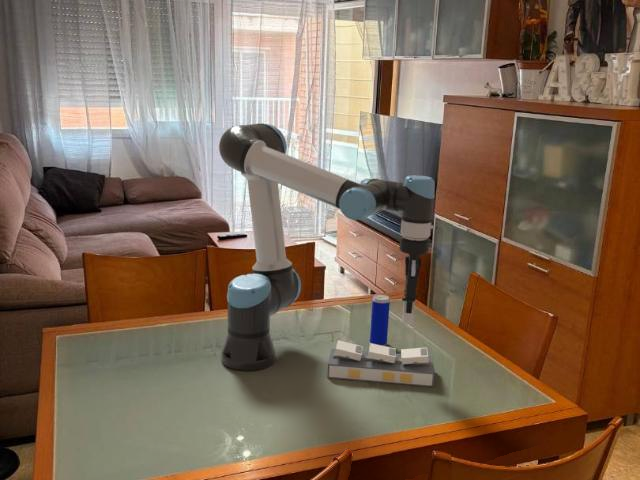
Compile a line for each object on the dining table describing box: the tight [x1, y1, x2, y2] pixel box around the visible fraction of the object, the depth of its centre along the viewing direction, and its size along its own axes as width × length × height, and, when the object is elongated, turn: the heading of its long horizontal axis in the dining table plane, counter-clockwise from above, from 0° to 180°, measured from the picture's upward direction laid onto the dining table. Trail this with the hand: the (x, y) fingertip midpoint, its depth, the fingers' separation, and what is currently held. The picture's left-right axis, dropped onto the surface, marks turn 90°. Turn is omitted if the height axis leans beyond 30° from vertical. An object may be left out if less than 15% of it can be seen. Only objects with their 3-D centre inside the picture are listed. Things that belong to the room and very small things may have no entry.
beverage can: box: [369, 294, 391, 346], centre depth 185 cm, size 5×5×15 cm
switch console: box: [326, 348, 436, 388], centre depth 167 cm, size 28×10×5 cm, turn 83°
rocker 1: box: [335, 339, 364, 361], centre depth 167 cm, size 7×6×2 cm
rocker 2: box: [368, 342, 397, 363], centre depth 166 cm, size 7×6×2 cm
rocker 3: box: [400, 347, 429, 365], centre depth 165 cm, size 7×6×2 cm
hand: (407, 322), depth 163 cm, fingers closed
